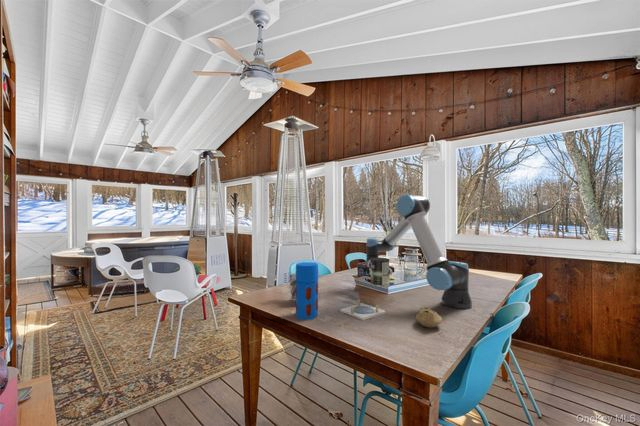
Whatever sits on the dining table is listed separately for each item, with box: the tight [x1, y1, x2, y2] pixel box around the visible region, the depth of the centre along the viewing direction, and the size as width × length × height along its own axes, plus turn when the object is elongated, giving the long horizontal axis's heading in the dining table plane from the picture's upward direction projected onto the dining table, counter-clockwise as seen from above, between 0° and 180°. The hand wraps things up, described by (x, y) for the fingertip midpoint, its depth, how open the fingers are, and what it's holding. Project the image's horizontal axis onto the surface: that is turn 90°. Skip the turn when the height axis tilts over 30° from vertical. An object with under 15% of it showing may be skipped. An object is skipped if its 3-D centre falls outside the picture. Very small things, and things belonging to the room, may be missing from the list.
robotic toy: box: [287, 273, 296, 301], centre depth 164 cm, size 13×17×15 cm
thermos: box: [295, 261, 319, 320], centre depth 142 cm, size 11×11×25 cm
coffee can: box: [370, 257, 390, 288], centre depth 161 cm, size 10×10×14 cm
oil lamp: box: [415, 306, 443, 329], centre depth 131 cm, size 11×15×8 cm
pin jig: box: [339, 299, 386, 321], centre depth 147 cm, size 16×16×4 cm
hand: (381, 272), depth 157 cm, fingers closed on coffee can, 10 cm apart
